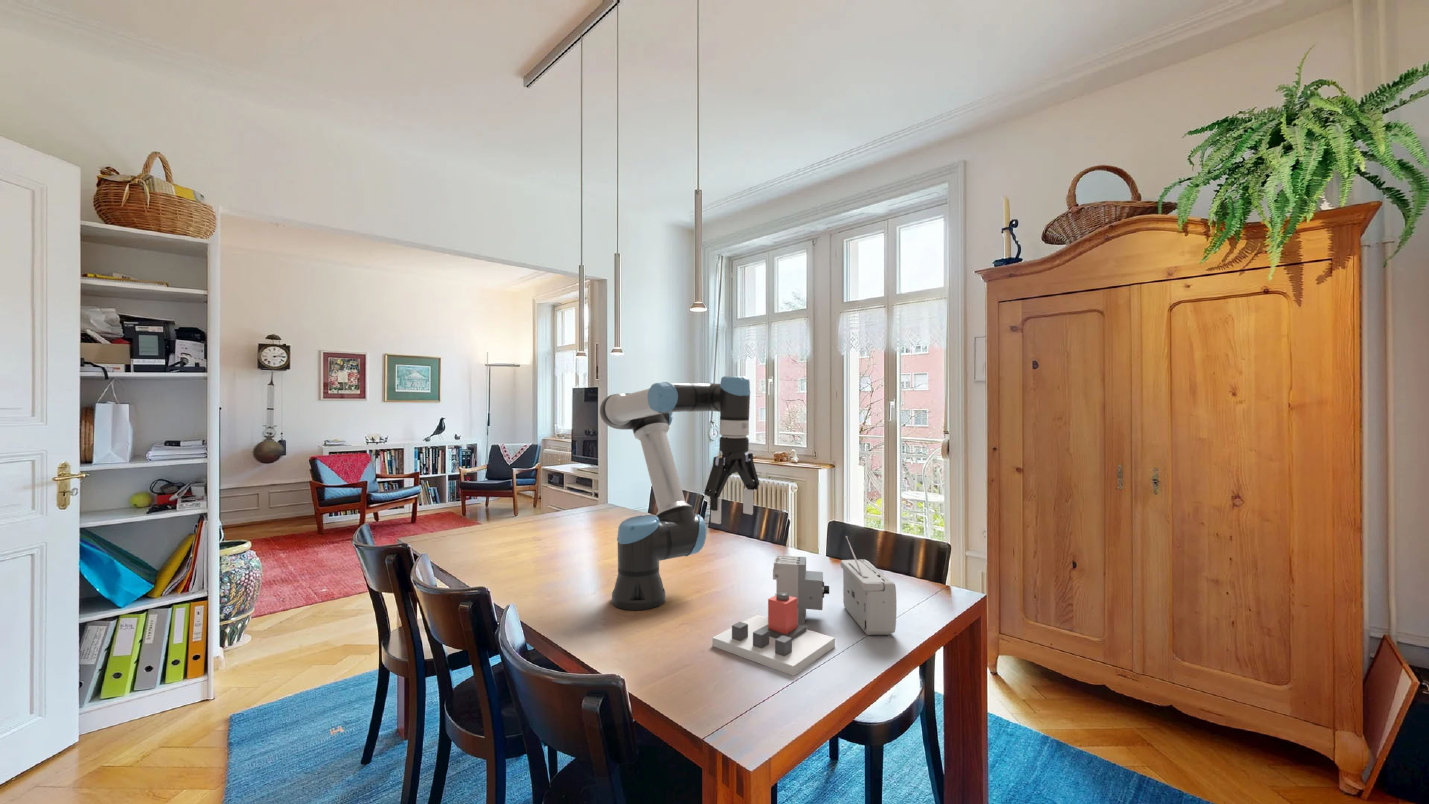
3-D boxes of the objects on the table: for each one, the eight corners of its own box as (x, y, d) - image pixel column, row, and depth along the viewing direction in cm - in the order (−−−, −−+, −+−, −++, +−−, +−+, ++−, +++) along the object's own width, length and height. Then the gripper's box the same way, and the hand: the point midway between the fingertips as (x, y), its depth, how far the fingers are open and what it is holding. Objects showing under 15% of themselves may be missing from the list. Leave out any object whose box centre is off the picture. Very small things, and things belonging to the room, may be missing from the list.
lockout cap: (768, 628, 134) (768, 594, 134) (779, 621, 138) (779, 589, 138) (786, 634, 131) (786, 599, 131) (797, 627, 135) (797, 593, 135)
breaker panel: (712, 646, 132) (712, 624, 132) (757, 622, 145) (757, 602, 145) (793, 675, 117) (793, 651, 117) (834, 646, 131) (834, 624, 131)
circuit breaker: (829, 625, 143) (829, 566, 143) (772, 621, 146) (772, 563, 146) (829, 614, 151) (829, 558, 151) (775, 610, 154) (775, 555, 154)
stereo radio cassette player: (897, 637, 136) (897, 554, 136) (864, 638, 136) (864, 555, 136) (868, 605, 157) (868, 533, 157) (839, 606, 157) (839, 534, 156)
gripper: (714, 441, 133) (712, 530, 134) (773, 434, 153) (771, 512, 154) (691, 438, 138) (689, 524, 139) (750, 432, 158) (749, 507, 158)
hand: (732, 518), depth 146 cm, fingers open, 13 cm apart
